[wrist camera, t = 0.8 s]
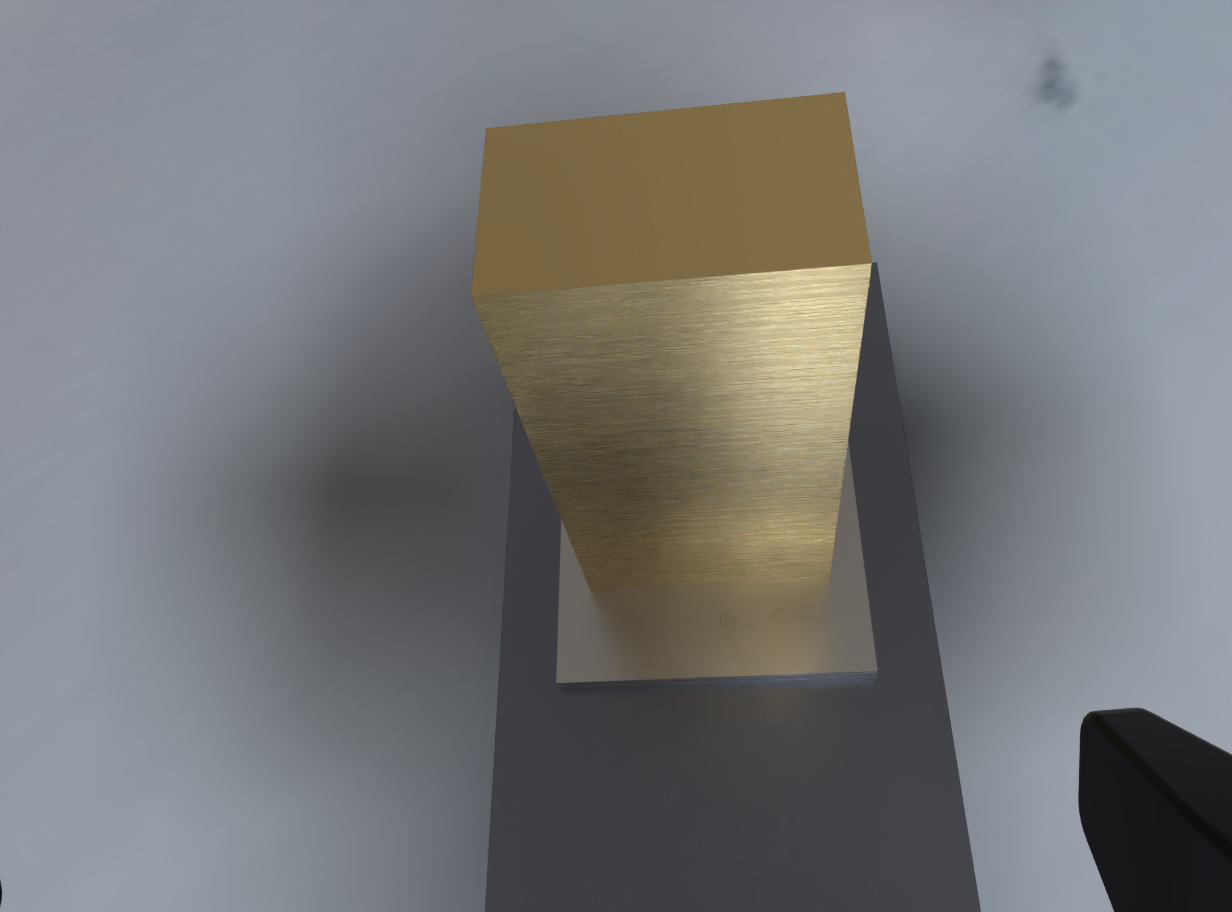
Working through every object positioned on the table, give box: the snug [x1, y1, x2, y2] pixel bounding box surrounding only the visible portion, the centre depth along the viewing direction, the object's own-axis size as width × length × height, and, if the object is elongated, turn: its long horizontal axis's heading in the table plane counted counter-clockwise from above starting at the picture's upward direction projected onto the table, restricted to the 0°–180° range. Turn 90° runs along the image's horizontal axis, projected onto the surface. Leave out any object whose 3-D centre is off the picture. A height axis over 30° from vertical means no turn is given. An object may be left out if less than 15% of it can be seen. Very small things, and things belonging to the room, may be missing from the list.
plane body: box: [485, 263, 981, 912], centre depth 19 cm, size 27×9×6 cm, turn 0°
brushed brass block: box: [471, 92, 872, 590], centre depth 18 cm, size 3×5×10 cm, turn 90°
